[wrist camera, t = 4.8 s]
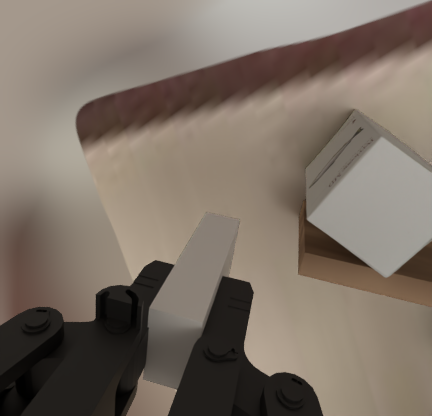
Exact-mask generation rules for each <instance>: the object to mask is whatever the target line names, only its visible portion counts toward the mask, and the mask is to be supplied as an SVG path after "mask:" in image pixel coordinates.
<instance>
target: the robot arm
mask: <svg viewBox="0 0 432 416" xmlns="http://www.w3.org/2000/svg"><path fill="white" fill-rule="evenodd" d="M239 222H240V219H235V218H231V217H226V216H222V215H217V214H213V213H208V212H206V213H205V215H204V217H203V218H202V220H201V222H200V223H199V225H198V227H197V228H196V230H195V232H194V234H193V235H192V237H191V239H190V240H189V242H188V244H187V245H186V247H185V249H184V250H183V252H182V254H181V255H180V257H179V259H178V260H177V262H176V264H175V265H173V264H169V263H165V262H161V261H157V260H155V261H153V262H152V263H150V264H148V265H146V266H145V267H144V268H143V270H142V271H141V272H140V274H139V276H138V277H137V278H136V279H135V280H134V282H133V284H132V285H131V286H123V285H117V286H110V287H107V288H105V289H102V290H101V291H100V292H98V293H97V294H96V318H95V320H94V321H91V322H64V321H63V317H62V314H61V313H60V312H59V311H57V310H56V309H53V308H50V307H37V308H32V309H28V310H26V311H24V312H22V313H20V314H18V315H16V316H15V317H13V318H12V319H10V320H9V321H7V322H5V323H4V324H2V325H1V326H0V416H126V414H127V412H128V410H129V408H130V406H131V404H132V402H133V400H134V398H135V395H136V391H137V384H138V379H139V377H140V375H141V373H142V371H143V369H144V376H143V379H144V380H147V381H150V382H154V383H157V384H160V385H164V386H167V387H171V388H174V389H177V392H176V395H175V398H174V400H173V403H172V406H171V408H170V411H169V414H168V416H323V414H322V410H321V407H320V404H319V401H318V398H317V396H316V394H315V392H314V390H313V388H312V387H311V386H310V385H309V384H308V383H307V382H306V381H305V380H304V379H302V378H300V377H299V376H297V375H295V374H291V373H286V372H283V373H275V374H274V375H272V376H270V377H269V376H268V375H266V374H264V373H263V372H261V371H260V370H258V369H257V368H255V367H254V366H253V365H252V364H251V363H250V362H249V360H248V359H247V357H246V355H245V352H244V341H245V336H246V330H247V325H248V320H249V315H250V309H251V304H252V299H253V294H254V292H253V290H252V287H251V285H250V283H249V282H245V281H241V280H237V279H233V278H229V273H230V269H231V264H232V259H233V253H234V248H235V243H236V238H237V233H238V228H239Z"/></svg>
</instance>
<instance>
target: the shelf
mask: <svg viewBox="0 0 432 416" xmlns="http://www.w3.org/2000/svg"><path fill="white" fill-rule="evenodd" d="M298 275H303V276H307V277H311V278H315V279H319V280H323V281H327V282H331V283H335V284H339V285H344V286H348V287H352V288H356V289H360V290H364V291H368V292H372V293H376V294H380V295H385V296H389V297H393V298H397V299H401V300H405V301H409V302H413V303H417V304H421V305H426V306H430V307H432V241H431V242H430V243H428V244H427V245H426V246H424V247H423V248H422V249H421V250H420V251H419V252H417V253H416V254H415V255H414V256H413V257H412V258H410V259H409V260H408V261H407V262H406V263H405V264H403V265H402V266H401V267H400V268H399V269H398V270H397V271H396V272H394V273H393V274H392V275H391V276H389V277H387V278H385V277H383V276H382V275H381V274H379V273H378V272H377V271H375V270H374V269H373V268H371V267H370V266H369V265H367V264H366V263H365V262H364V261H362V260H361V259H360V258H358V257H357V256H356V255H354V254H353V253H352V252H350V251H349V250H348V249H346V248H345V247H344V246H342V245H341V244H340V243H338V242H337V241H336V240H334V239H333V238H332V237H330V236H329V235H327V234H326V233H325V232H323V231H322V230H320V229H319V228H318V227H316V226H315V225H313V224H312V223H311V222H309V221H308V220H307V212H306V201H303V205H302V208H301V212H300V216H299V261H298Z"/></svg>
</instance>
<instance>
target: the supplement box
mask: <svg viewBox="0 0 432 416" xmlns="http://www.w3.org/2000/svg"><path fill="white" fill-rule="evenodd" d="M305 172H306V212H307V220H308V221H309V222H311V223H312V224H313V225H315V226H316V227H318V228H319V229H320V230H322V231H323V232H325V233H326V234H327V235H329V236H330V237H332V238H333V239H334V240H336V241H337V242H338V243H340V244H341V245H342V246H344V247H345V248H346V249H348V250H349V251H350V252H352V253H353V254H354V255H356V256H357V257H358V258H360V259H361V260H362V261H364V262H365V263H366V264H367V265H369V266H370V267H371V268H373V269H374V270H375V271H377V272H378V273H379V274H381V275H382V276H383V277H385V278H387V277H389V276H391V275H392V274H393V273H394V272H396V271H397V270H398V269H399V268H400V267H401V266H402V265H403V264H405V263H406V262H407V261H408V260H409V259H410V258H412V257H413V256H414V255H415V254H416V253H417V252H419V251H420V250H421V249H422V248H423V247H424V246H426V245H427V244H428V243H430V242H431V241H432V166H431V165H430V164H429V163H428V162H426V161H425V160H424V159H423V158H422V157H421V156H419V155H418V154H417V153H416V152H414V151H413V150H412V149H411V148H409V147H408V146H407V145H405V144H404V143H403V142H402V141H400V140H399V139H398V138H396V137H395V136H394V135H392V134H391V133H390V132H388V131H387V130H386V129H384V128H383V127H382V126H380V125H379V124H377V123H376V122H374V121H373V120H372V119H370V118H369V117H367V116H366V115H364V114H363V113H362V112H360V111H359V110H357V109H355V110H354V111H353V112H352V114H351V115H350V116H349V118H348V119H347V120H346V122H345V123H344V124H343V126H342V127H341V128H340V129H339V130H338V132H337V133H336V134H335V135H334V137H333V138H332V139H331V140H330V141H329V142H328V144H327V145H326V146H325V147H324V148H323V149H322V151H321V152H320V153H319V154H318V155H317V156H316V158H315V159H314V160H313V161H312V162H311V163H310V164H309V165H308V166H307V167H306V170H305Z"/></svg>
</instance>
